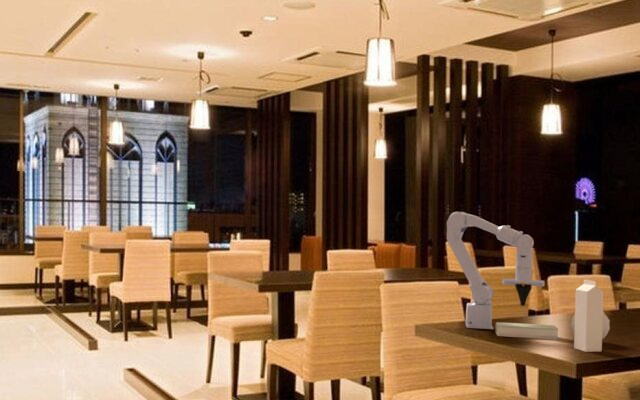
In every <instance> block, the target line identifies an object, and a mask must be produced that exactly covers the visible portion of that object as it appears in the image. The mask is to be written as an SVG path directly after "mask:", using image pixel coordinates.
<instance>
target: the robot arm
mask: <svg viewBox="0 0 640 400" xmlns="http://www.w3.org/2000/svg"><path fill="white" fill-rule="evenodd" d="M446 227H447V228H446V242H447V243H448V245H449V247H450V248H451V250H452V252H453V254H454V256H455V258H456V260H457V262H458V264H459V267H460V268H461V270H462V272H463V274H464V275H465V277H466V280H467V281H468V285H469V289H470V291H471V297H472V302H467V303H466V311H465V321H464V322H465V326H466V328H467V329H480V330H481V329H482V330H494V326H493V325H492V321H493V320H492V319H493V302H492V298H493V296H494V289H493V288H492V287H491V286H490V285H489V284H488V283H487V282H486V280H485V279H484V278H483V276H482V275H481V273H480V272H479V270H478V267H477V265H476V263H475V262H474V260H473V258H472V256H471V255H470V253H469V251H468V249H467V248H466V246H465V244H464V241H463V239H462V238H463V235H464V232H465V231H466V229H468V227H469V228H470V227H471V228H472V227H476V228H479V229H481V230H483V231H486V232H489V233H491V234H493V235H495V236H496V239H497V240H499V241H500V242H503V243H505V244H506V245H509V246H512V247H516V256H515V275H514V276H515V278H503V279H502V285H504V286H505V285H507V286H508V285H510V286H511V285H513V286H514V287H515V289H516V292H517V294H518V295H517V296H518V298H519V302H520V303H519V304H520V306H521V307H525V306H526V302H527V299H528V296H529V294H530V292H531V290H532V287H544V288H545V280H538V279H537V280H536V279H532V278H533V247H534V244H535V243H534V239H533V237H531V235H529V234H523V233H524V232H523V231H521V230H515V229H514V228H511V227H512V226H511V225H508V224H507V225H501V226H498V225H496V224H494V223H492V222H489V221H487V220H485V219H483V218H482V217H479V216H477V215H474V214H470V213H466V212H464V211H455V212H451V214H450V215H449V216H448V219H447V221H446Z"/></svg>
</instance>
